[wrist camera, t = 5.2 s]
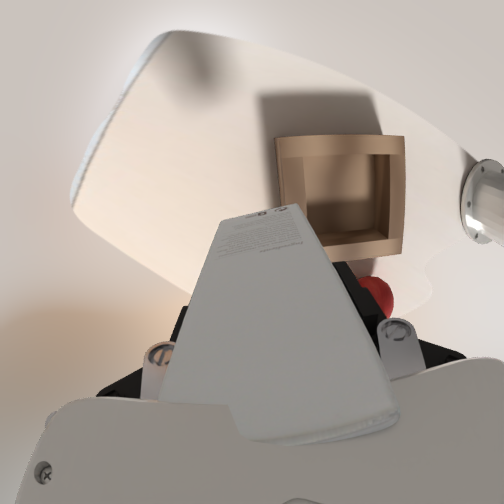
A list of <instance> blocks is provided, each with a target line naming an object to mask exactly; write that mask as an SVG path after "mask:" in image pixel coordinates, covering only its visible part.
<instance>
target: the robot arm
mask: <svg viewBox="0 0 504 504" xmlns="http://www.w3.org/2000/svg"><path fill="white" fill-rule="evenodd" d="M461 216H462V223H463V226H464V229H465V232H466V234H467V235H468V236H469V238H470V239H472V240H473V241H475V242H477V243H478V244H487V243H489V242H491V241H492V240H493V241H495V242H496V243H498V244H500V245H501V246H503V247H504V168H503V166H502V165H501V164H500V163H499V162H497V161H494V160H491V159H484V160H482V161H480V162H478V163H477V164H476V165H475V166H474V167H473V168H472V170H471V171H470V173H469V175H468V177H467V179H466V183H465V186H464V189H463V194H462V202H461ZM332 264H333V266H334V268H335V269H336V271H337V273H338V275H339V277H340V279H341V281H342V282H343V284H344V286H345V288H346V290H347V292H348V294H349V296H350V298H351V300H352V302H353V304H354V306H355V308H356V310H357V312H358V314H359V316H360V317H361V319H362V321H363V323H364V325H365V327H366V329H367V331H368V333H369V335H370V337H371V339H372V341H373V343H374V345H375V347H376V350H377V352H378V354H379V356H380V358H381V361H382V363H383V365H384V368H385V370H386V372H387V375H388V377H389V380H390V383H391V385H392V388H393V390H394V393H395V395H396V398H397V400H398V403H399V406H400V412H401V415H400V418H399V420H398V421H397V422H396V423H395V424H393V425H391V426H389V427H387V428H385V429H382V430H379V431H376V432H372V433H369V434H365V435H361V436H357V437H352V438H348V439H343V440H338V441H332V442H325V443H318V444H310V445H300V446H284V445H276V444H268V443H260V442H254V441H250V440H248V439H247V438H245V437H243V436H242V435H240V433H239V431H238V429H237V426H236V424H235V421H234V419H233V416H232V414H231V411H230V409H229V406H228V405H223V404H192V403H176V402H165V401H157V400H158V396H159V393H160V390H161V387H162V383H163V380H164V377H165V374H166V370H167V367H168V364H169V361H170V359H171V356H172V353H173V349H174V346H175V344H176V341H177V338H178V335H179V332H180V329H181V326H182V323H183V320H184V317H185V315H186V312H187V309H188V306H189V305H188V306H183V308H182V310H181V313H180V315H179V317H178V320H177V322H176V325H175V328H174V330H173V333H172V335H171V338H170V341H166V342H161V343H157V344H155V345H153V346H152V347H150V348H149V349H148V350H147V352H146V354H145V356H144V363H143V367H142V368H140V369H139V370H137V371H135V372H133V373H131V374H130V375H128V376H126V377H124V378H122V379H120V380H118V381H117V382H115V383H113V384H111V385H109V386H108V387H105V388H104V389H102V390H101V391H100V392H99V393H98V394H97V395H96V397H90V398H84V399H78V400H75V401H71V402H69V403H67V404H65V405H64V406H62V407H61V408H60V409H59V410H58V411H55V412H54V413H52V414H50V415H49V416H48V418H47V420H46V423H45V430H44V432H43V433H42V435H41V437H40V439H39V441H38V443H37V445H36V448H35V450H34V452H33V454H32V456H31V459H30V461H29V464H28V466H27V469H26V471H25V474H24V477H23V480H22V482H21V486H20V488H19V491H18V494H17V498H16V502H15V504H504V362H503V361H501V360H498V359H495V358H489V357H473V358H466V357H465V356H464V355H463V354H461V353H459V352H457V351H453V350H450V349H447V348H444V347H441V346H438V345H435V344H432V343H429V342H426V341H422V340H420V339H418V338H417V334H416V331H415V329H414V327H413V326H412V324H411V323H410V322H408V321H406V320H404V319H400V318H388V319H387V317H386V316H385V314H384V313H383V311H382V309H381V308H380V306H379V305H378V303H377V302H376V300H375V298H374V297H373V295H372V294H371V292H370V291H369V289H368V288H367V287H362V286H361V285H360V283H359V282H358V280H357V279H356V277H355V275H354V274H353V272H352V271H351V269H350V268H349V266H348V265H347V263H346V262H345V261H339V262H332ZM194 290H195V289H194ZM193 293H194V292H193ZM191 298H192V297H191ZM190 301H191V300H190Z"/></svg>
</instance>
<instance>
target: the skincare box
mask: <svg viewBox="0 0 504 504" xmlns="http://www.w3.org/2000/svg"><path fill="white" fill-rule="evenodd" d="M157 401H165V402H176V403H192V404H223V405H228V406H229V409H230V411H231V414H232V416H233V419H234V421H235V424H236V426H237V429H238V431H239V433H240V435H242V436H243V437H245V438H247V439H248V440H250V441H254V442H260V443H268V444H276V445H284V446H300V445H310V444H318V443H325V442H332V441H338V440H343V439H348V438H352V437H357V436H361V435H365V434H369V433H372V432H376V431H379V430H382V429H385V428H387V427H389V426H391V425H393V424H395V423H396V422H397V421H398V420H399V418H400V415H401V412H400V406H399V403H398V400H397V398H396V395H395V393H394V390H393V388H392V385H391V383H390V380H389V377H388V375H387V372H386V370H385V368H384V365H383V363H382V361H381V358H380V356H379V354H378V352H377V350H376V347H375V345H374V343H373V341H372V339H371V337H370V335H369V333H368V331H367V329H366V327H365V325H364V323H363V321H362V319H361V317H360V316H359V314H358V312H357V310H356V308H355V306H354V304H353V302H352V300H351V298H350V296H349V294H348V292H347V290H346V288H345V286H344V284H343V282H342V281H341V279H340V277H339V275H338V273H337V271H336V269H335V268H334V266H333V264H332V263H331V261H330V259H329V257H328V255H327V253H326V252H325V250H324V248H323V246H322V245H321V243H320V241H319V239H318V238H317V236H316V234H315V232H314V230H313V229H312V227H311V225H310V224H309V222H308V220H307V218H306V217H305V215H304V213H303V212H302V210H301V208H300V207H299V205H298V204H296V203H295V204H291V205H286V206H282V207H277V208H273V209H268V210H264V211H260V212H256V213H252V214H248V215H243V216H239V217H235V218H231V219H226V220H223V221H221V222H220V224H219V227H218V229H217V232H216V234H215V237H214V240H213V242H212V244H211V247H210V250H209V253H208V255H207V258H206V260H205V263H204V266H203V268H202V270H201V273H200V276H199V278H198V281H197V284H196V287H195V290H194V293H193V295H192V298H191V301H190V303H189V306H188V309H187V312H186V315H185V317H184V320H183V323H182V326H181V329H180V332H179V335H178V338H177V341H176V344H175V346H174V349H173V353H172V356H171V359H170V361H169V364H168V367H167V370H166V374H165V377H164V380H163V383H162V387H161V390H160V393H159V396H158V400H157Z"/></svg>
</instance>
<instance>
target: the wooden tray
mask: <svg viewBox="0 0 504 504" xmlns="http://www.w3.org/2000/svg"><path fill="white" fill-rule="evenodd" d="M274 141H275V150H276V160H277V169H278V179H279V189H280V200H281V207H282V206H286V205H291V204H295V203H296V204H298V205H299V207H300V208H301V210H302V212H303V213H304V215H305V217H306V218H307V220H308V222H309V224H310V225H311V227H312V229H313V230H314V232H315V234H316V236H317V238H318V239H319V241H320V243H321V245H322V246H323V248H324V250H325V252H326V253H327V255H328V257H329V259H330V261H331V263H332V262H339V261H353V260H360V259H368V258H375V257H382V256H389V255H396V254H401V252H402V242H403V230H404V215H405V180H406V176H405V142H404V136H392V135H359V134H343V135H309V136H292V137H279V138H274Z"/></svg>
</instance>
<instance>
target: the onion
mask: <svg viewBox="0 0 504 504" xmlns="http://www.w3.org/2000/svg"><path fill="white" fill-rule="evenodd" d="M358 282H359V283H360V285H361V286H362V287H367V288H368V289H369V291H370V292H371V294H372V295H373V297H374V298H375V300H376V302H377V303H378V305H379V306H380V308H381V309H382V311H383V313H384V314H385V316H386V317H387V319H388V318H389V317H390V316H391V313H392V311H393V307H394V298H393V294H392V291H391V289H390V287H389V285H388V284H387V283H386V282H384V281H383V280H382V279H380V278H379V277H371V276H366V277H363V278H360V279H358Z"/></svg>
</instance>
